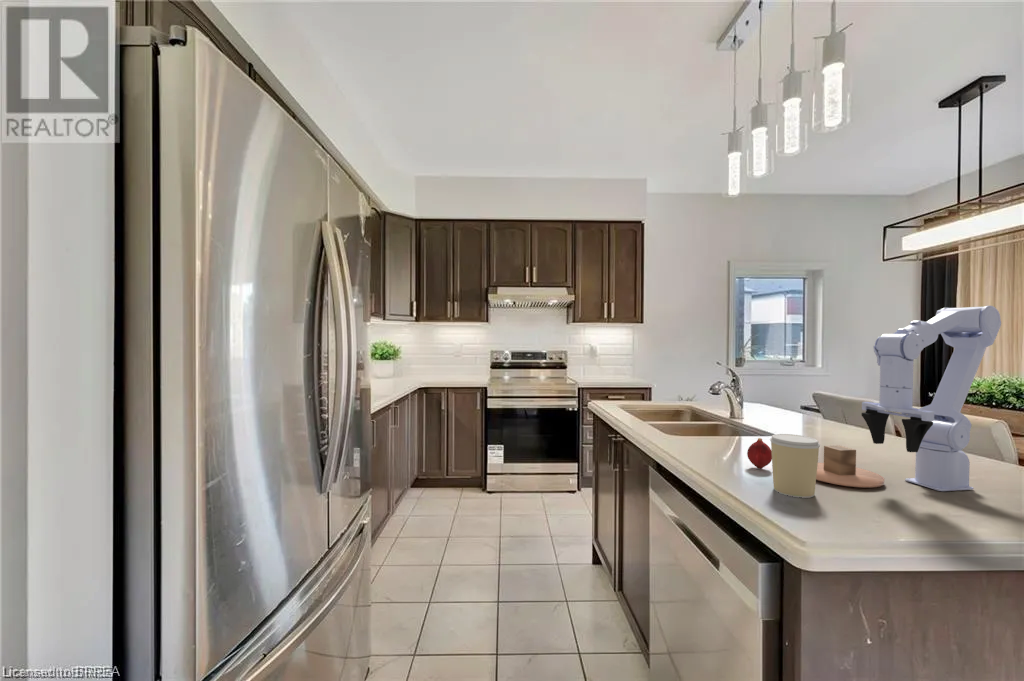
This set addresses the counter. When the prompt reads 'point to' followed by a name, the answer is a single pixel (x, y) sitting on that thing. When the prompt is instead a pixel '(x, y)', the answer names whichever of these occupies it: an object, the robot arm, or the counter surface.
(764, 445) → the onion
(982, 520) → the counter surface
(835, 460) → the block
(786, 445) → the coffee cup
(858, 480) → the dish
